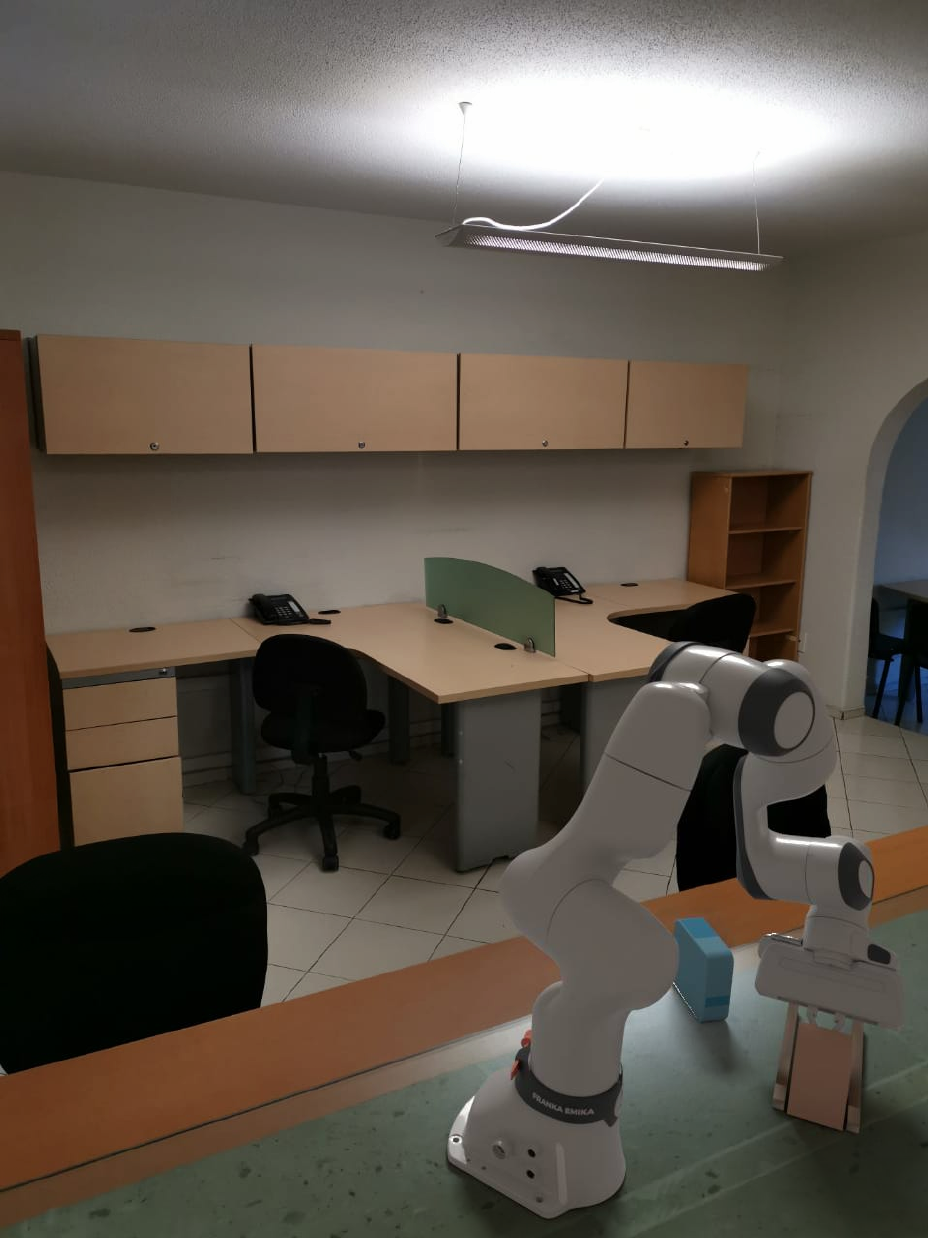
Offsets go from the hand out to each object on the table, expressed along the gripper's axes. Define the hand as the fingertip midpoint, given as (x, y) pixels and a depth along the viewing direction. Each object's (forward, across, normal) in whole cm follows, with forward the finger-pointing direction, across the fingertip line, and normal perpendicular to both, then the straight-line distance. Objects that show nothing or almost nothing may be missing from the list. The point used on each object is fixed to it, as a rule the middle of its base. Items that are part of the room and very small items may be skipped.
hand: (822, 1044), depth 131 cm
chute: (+2, 0, +7) cm, 7 cm away
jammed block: (+8, 0, +1) cm, 8 cm away
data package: (-3, -19, +12) cm, 23 cm away
